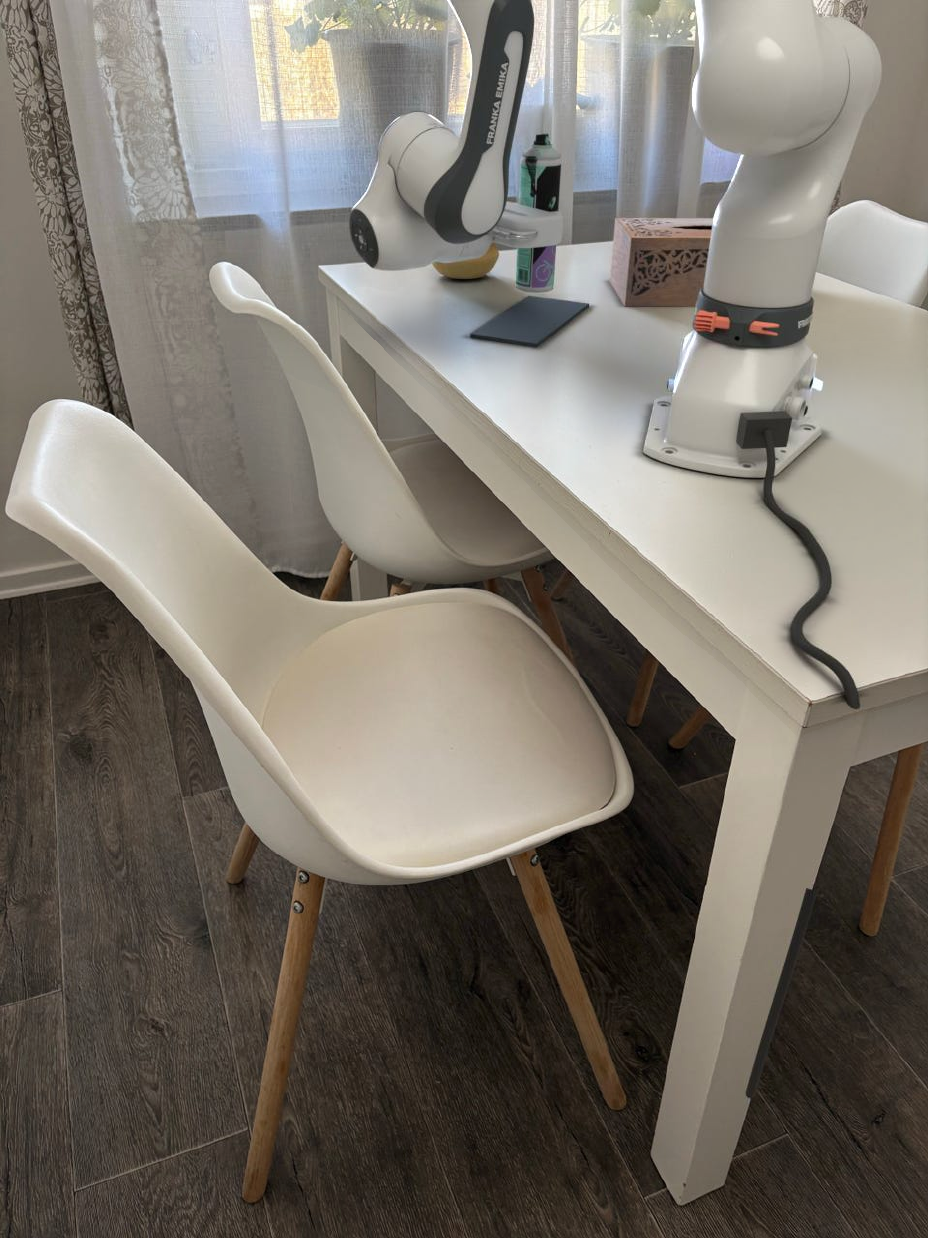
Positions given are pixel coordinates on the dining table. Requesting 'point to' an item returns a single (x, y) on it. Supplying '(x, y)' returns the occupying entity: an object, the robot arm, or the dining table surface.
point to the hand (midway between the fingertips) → (543, 212)
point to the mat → (530, 321)
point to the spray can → (542, 194)
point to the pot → (469, 265)
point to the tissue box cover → (660, 260)
